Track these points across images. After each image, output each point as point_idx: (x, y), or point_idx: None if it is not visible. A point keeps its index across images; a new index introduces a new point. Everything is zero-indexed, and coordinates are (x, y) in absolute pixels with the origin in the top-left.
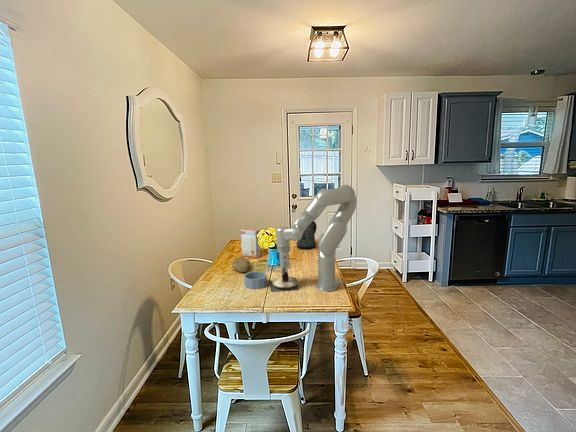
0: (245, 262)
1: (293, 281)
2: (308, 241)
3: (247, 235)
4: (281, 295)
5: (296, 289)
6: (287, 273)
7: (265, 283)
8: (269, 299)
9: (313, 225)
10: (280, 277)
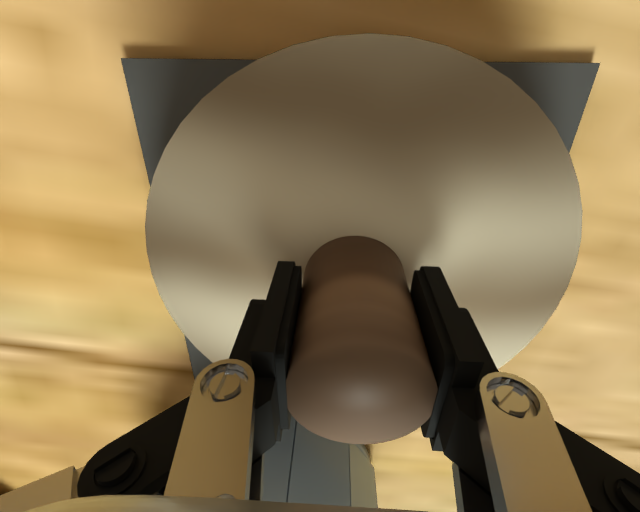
0: None
1: (424, 154)
2: None
3: None
4: (602, 319)
5: (553, 114)
6: (540, 403)
7: (322, 445)
8: (623, 416)
9: None
10: (189, 315)
